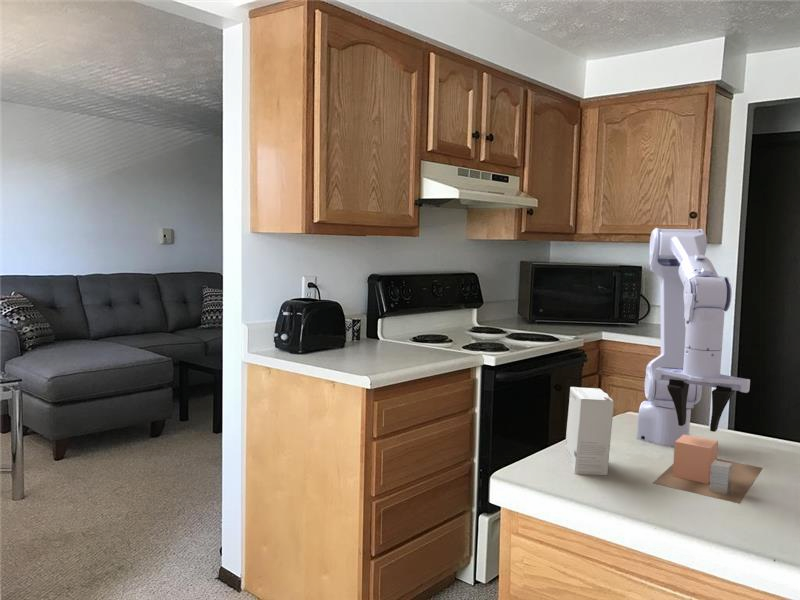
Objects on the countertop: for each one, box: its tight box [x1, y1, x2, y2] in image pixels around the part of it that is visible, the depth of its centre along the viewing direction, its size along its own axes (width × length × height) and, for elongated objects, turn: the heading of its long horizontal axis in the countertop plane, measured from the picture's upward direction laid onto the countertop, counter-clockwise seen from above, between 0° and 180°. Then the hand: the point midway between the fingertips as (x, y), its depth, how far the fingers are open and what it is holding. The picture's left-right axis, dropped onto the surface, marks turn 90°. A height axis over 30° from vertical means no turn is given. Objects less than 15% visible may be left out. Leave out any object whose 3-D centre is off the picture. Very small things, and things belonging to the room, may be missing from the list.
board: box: [652, 458, 763, 504], centre depth 115 cm, size 13×21×2 cm, turn 143°
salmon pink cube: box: [672, 434, 719, 484], centre depth 114 cm, size 6×6×6 cm
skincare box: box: [563, 386, 615, 476], centre depth 117 cm, size 8×6×15 cm
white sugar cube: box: [709, 460, 732, 495], centre depth 107 cm, size 3×3×4 cm
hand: (697, 427), depth 113 cm, fingers open, 4 cm apart
